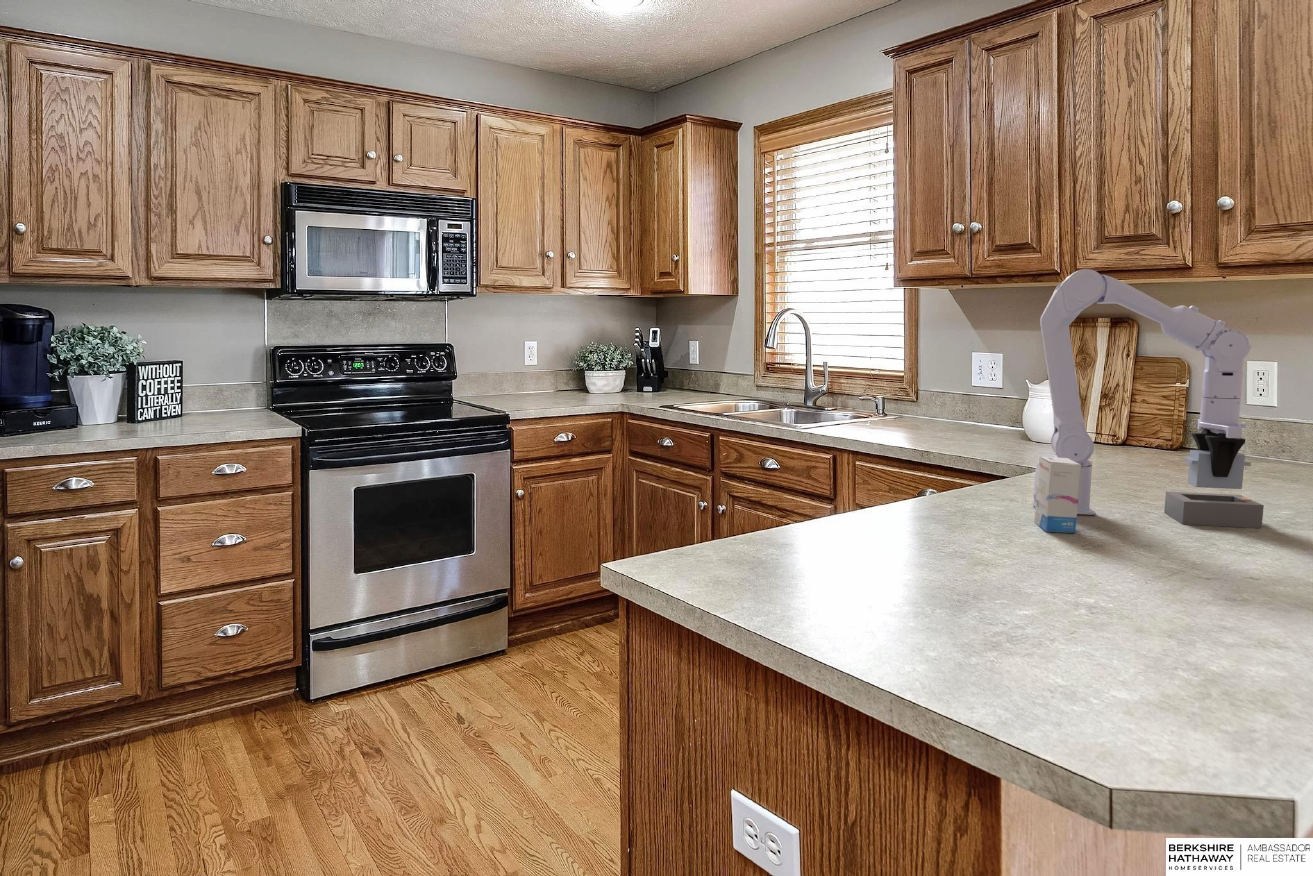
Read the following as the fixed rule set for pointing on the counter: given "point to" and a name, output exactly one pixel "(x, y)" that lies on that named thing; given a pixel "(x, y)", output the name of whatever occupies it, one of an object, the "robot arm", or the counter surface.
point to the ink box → (1057, 494)
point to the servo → (1203, 474)
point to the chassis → (1213, 509)
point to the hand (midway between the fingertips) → (1214, 474)
